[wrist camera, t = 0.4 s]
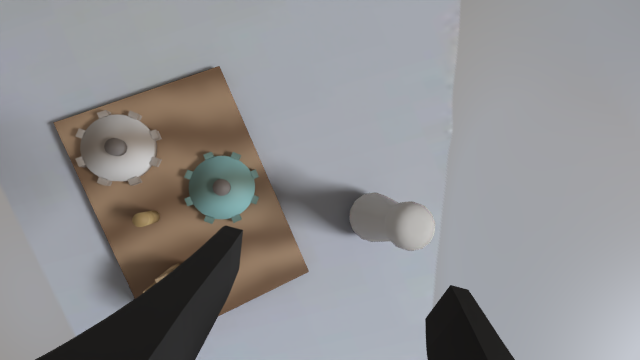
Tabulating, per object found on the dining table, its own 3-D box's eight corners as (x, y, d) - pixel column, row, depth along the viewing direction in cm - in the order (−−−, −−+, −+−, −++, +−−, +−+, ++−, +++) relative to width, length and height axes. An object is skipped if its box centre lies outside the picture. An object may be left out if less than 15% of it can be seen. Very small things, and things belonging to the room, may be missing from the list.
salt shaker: (394, 228, 39) (456, 247, 26) (354, 245, 38) (398, 273, 25) (379, 185, 39) (434, 184, 26) (338, 201, 38) (375, 207, 25)
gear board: (307, 269, 37) (313, 280, 32) (160, 340, 34) (144, 364, 29) (220, 70, 36) (214, 52, 31) (61, 125, 33) (27, 114, 28)
